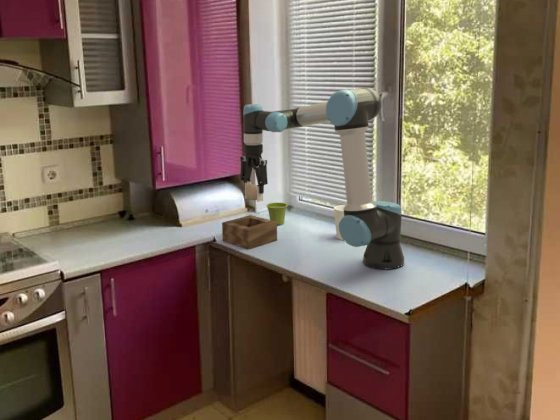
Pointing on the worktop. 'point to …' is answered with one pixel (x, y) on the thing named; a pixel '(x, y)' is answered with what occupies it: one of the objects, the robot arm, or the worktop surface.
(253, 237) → the walnut well
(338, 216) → the foam cup
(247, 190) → the garlic bulb
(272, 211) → the plant pot
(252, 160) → the robot arm
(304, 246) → the worktop surface
